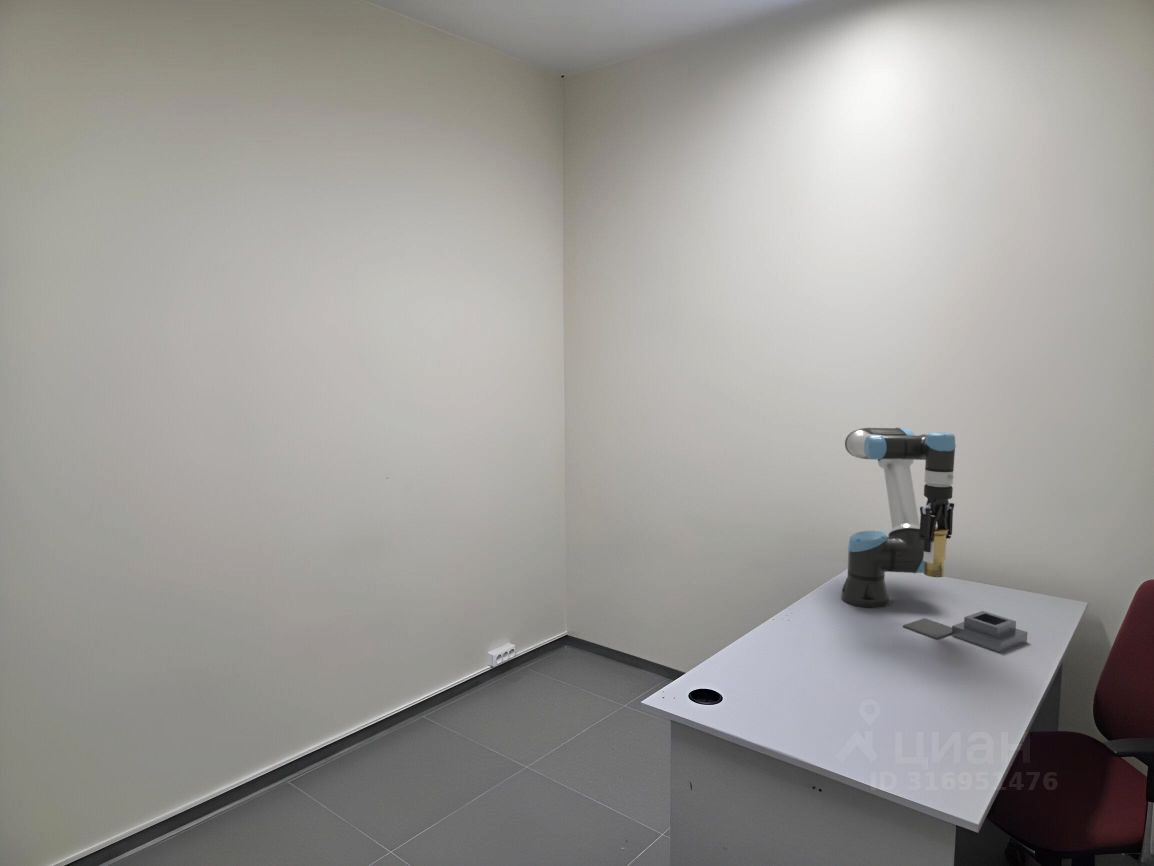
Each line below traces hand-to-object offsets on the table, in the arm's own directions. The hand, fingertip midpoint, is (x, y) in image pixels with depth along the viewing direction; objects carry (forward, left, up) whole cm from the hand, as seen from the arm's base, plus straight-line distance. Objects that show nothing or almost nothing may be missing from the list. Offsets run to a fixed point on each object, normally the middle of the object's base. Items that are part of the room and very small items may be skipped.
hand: (934, 560), depth 208 cm
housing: (+13, +8, -22) cm, 27 cm away
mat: (0, 0, -22) cm, 22 cm away
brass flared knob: (0, 0, -4) cm, 4 cm away
